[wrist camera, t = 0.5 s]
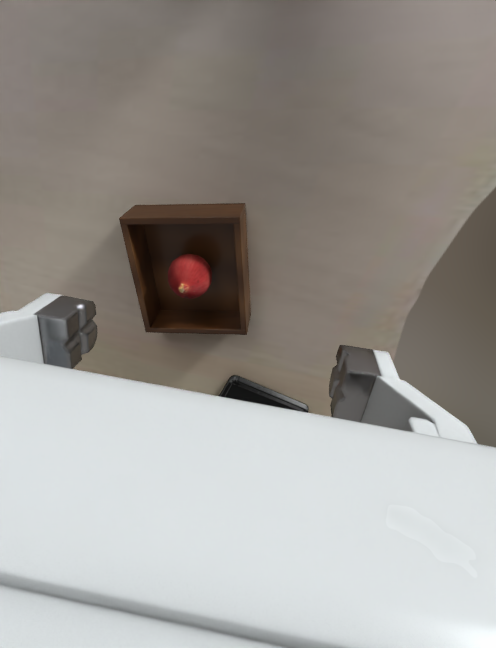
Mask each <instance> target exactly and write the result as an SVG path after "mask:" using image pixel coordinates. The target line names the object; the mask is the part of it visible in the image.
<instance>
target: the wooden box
mask: <svg viewBox="0 0 496 648" xmlns="http://www.w3.org/2000/svg"><path fill="white" fill-rule="evenodd" d="M119 220H120V224H121V228H122V233H123V237H124V241H125V245H126V250H127V254H128V258H129V262H130V266H131V271H132V275H133V279H134V283H135V288H136V292H137V296H138V300H139V305H140V309H141V313H142V317H143V322H144V326H145V330H146V332H157V333H199V334H240V335H247V331H248V326H249V321H250V316H251V308H250V288H249V269H248V249H247V230H246V210H245V203H239V204H179V205H135V206H134V207H132V208H131V209H130V210H129V211H128V212H126V213H125V214H124V215H123V216H121V217H120V218H119ZM185 254H193V255H198V256H200V257H202V258H203V259H205V261H206V262H207V263H208V264H209V265H210V268H211V271H212V282H211V284H210V286H209V288H208V290H207V291H206V292H205V293H204V294H203V295H201V296H200V297H197V298H193V299H187V298H182V297H180V296H178V295H176V294H175V293H174V292H173V290H172V289H171V288H170V285H169V283H168V270H169V267H170V265H171V263H172V261H173V260H175V259H176V258H178V257H179V256H181V255H185Z"/></svg>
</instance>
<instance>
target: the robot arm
mask: <svg viewBox="0 0 496 648" xmlns="http://www.w3.org/2000/svg"><path fill="white" fill-rule="evenodd" d="M95 315H96V307H95V304H94V302H93V301H89V300H84V299H79V298H74V297H68V296H63V295H59V294H52V293H45V294H44V295H42V296H41V297H39V298H37V299H36V300H34V301H33V302H31V303H29V304H28V305H26V306H24V307H23V308H21V309H20V310H18V311H8V312H3V313H0V648H496V448H495V447H490V446H485V445H480V444H477V442H476V441H475V439H474V437H473V435H472V434H471V432H470V430H469V428H468V426H466V425H465V424H464V423H462V422H461V421H459V420H458V419H457V418H455V417H454V416H453V415H451V414H450V413H448V412H447V411H446V410H444V409H443V408H441V407H440V406H439V405H437V404H436V403H435V402H433V401H432V400H430V399H429V398H428V397H426V396H425V395H424V394H422V393H421V392H419V391H418V390H417V389H415V388H414V387H413V386H411V385H410V384H408V383H407V382H405V381H403V380H400V379H399V376H398V374H397V371H396V369H395V367H394V364H393V362H392V359H391V357H390V354H389V353H388V352H385V351H377V350H372V349H366V348H359V347H353V346H346V345H340V346H339V349H338V351H337V355H336V360H337V365H336V366H335V367H334V368H333V369H332V373H331V377H330V383H329V396H330V397H331V398H332V401H331V405H330V406H331V414H332V417H328V416H323V415H317V414H312V413H307V412H301V411H296V410H290V409H285V408H280V407H274V406H269V405H263V404H258V403H253V402H247V401H242V400H236V399H231V398H225V397H220V396H215V395H209V394H204V393H199V392H193V391H188V390H182V389H177V388H172V387H166V386H161V385H156V384H150V383H145V382H139V381H134V380H129V379H123V378H118V377H113V376H107V375H102V374H96V373H91V372H86V371H80V370H75V369H73V368H74V367H75V366H76V365H77V364H78V363H79V362H80V361H81V360H82V357H81V355H82V354H85V353H88V352H89V351H90V350H91V349H92V348H93V346H94V344H95V342H96V339H97V325H96V324H95V323H94V321H93V320H92V319H93V318H94V316H95Z"/></svg>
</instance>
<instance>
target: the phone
mask: <svg viewBox="0 0 496 648" xmlns="http://www.w3.org/2000/svg"><path fill="white" fill-rule="evenodd" d="M219 396H220V397H225V398H231V399H236V400H242V401H247V402H253V403H258V404H263V405H269V406H274V407H280V408H285V409H290V410H296V411H301V412H307V413H308V406H307V405H305V404H303V403H301V402H298V401H296V400H293V399H291V398H289V397H286V396H284V395H282V394H279V393H277V392H275V391H272V390H270V389H267V388H265V387H263V386H260V385H258V384H256V383H253V382H251V381H249V380H246V379H244V378H241V377H239V376H232V377H230V378H229V380H228V382H227V383H226V385H225V387H224V389H223V390H222V392H221V394H220V395H219Z"/></svg>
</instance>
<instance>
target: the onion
mask: <svg viewBox="0 0 496 648" xmlns="http://www.w3.org/2000/svg"><path fill="white" fill-rule="evenodd" d="M211 282H212V271H211V268H210V265H209V264H208V263H207V262H206V261H205V259H203V258H202V257H200V256H198V255H193V254H185V255H181V256H179V257H178V258H176V259H175V260H173V261H172V263H171V265H170V267H169V270H168V283H169V285H170V288H171V289H172V290H173V292H174V293H175V294H176V295H178V296H180V297H182V298H187V299H193V298H197V297H200V296H201V295H203V294H204V293H205V292H206V291H207V290H208V288H209V286H210V284H211Z"/></svg>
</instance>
